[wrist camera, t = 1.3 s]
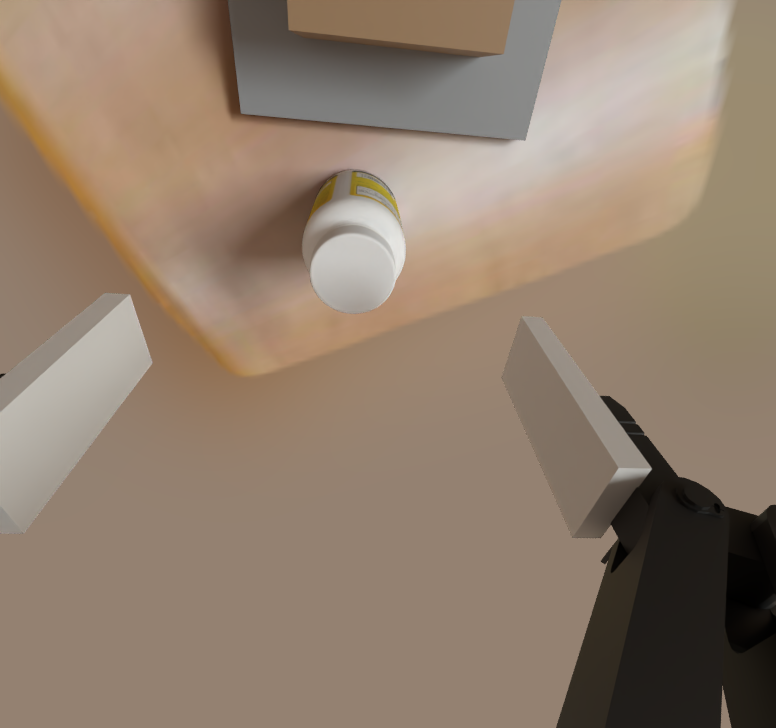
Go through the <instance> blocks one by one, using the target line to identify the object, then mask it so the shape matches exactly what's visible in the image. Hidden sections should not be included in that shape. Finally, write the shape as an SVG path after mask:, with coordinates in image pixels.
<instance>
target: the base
mask: <svg viewBox="0 0 776 728" xmlns="http://www.w3.org/2000/svg"><path fill="white" fill-rule="evenodd" d="M560 3H561V0H228V7H229V15H230V24H231V32H232V41H233V50H234V58H235V67H236V75H237V84H238V92H239V101H240V109H241V114H249V115H260V116H270V117H281V118H292V119H302V120H313V121H323V122H334V123H345V124H355V125H366V126H376V127H387V128H398V129H408V130H419V131H429V132H440V133H451V134H461V135H472V136H482V137H493V138H504V139H514V140H525V139H526V136H527V132H528V128H529V124H530V120H531V116H532V112H533V108H534V104H535V101H536V97H537V93H538V89H539V85H540V81H541V77H542V73H543V69H544V66H545V62H546V58H547V54H548V50H549V46H550V42H551V38H552V34H553V31H554V27H555V23H556V19H557V15H558V11H559V7H560Z"/></svg>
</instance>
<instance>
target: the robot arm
mask: <svg viewBox="0 0 776 728" xmlns="http://www.w3.org/2000/svg"><path fill="white" fill-rule="evenodd" d="M151 364H152V360H151V357H150V354H149V351H148V348H147V345H146V342H145V339H144V336H143V333H142V330H141V327H140V324H139V321H138V317H137V314H136V312H135V308H134V305H133V302H132V300H131V296H130V294H115V293H104V294H103V295H102V296H101V297H99V298H98V299H97V300H96V301H95V302H93V303H92V304H91V305H90V306H88V307H87V308H86V309H85V310H83V311H82V312H81V313H80V314H79V315H77V316H76V317H75V318H74V319H73V320H71V321H70V322H69V323H68V324H66V325H65V326H64V327H63V328H61V329H60V330H59V331H58V332H57V333H55V334H54V335H53V336H52V337H50V338H49V339H48V340H47V341H46V342H44V343H43V344H42V345H41V346H39V347H38V348H37V349H36V350H35V351H33V352H32V353H31V354H30V355H28V356H27V357H26V358H25V359H24V360H23V361H21V362H20V363H19V364H17V365H16V366H15V367H14V368H13V369H11V370H10V371H9V372H8V373H6V374H0V533H9V534H12V533H14V534H16V533H17V534H19V533H20V534H23V533H25V531H26V530H27V529H28V527H29V526H30V525H31V523H32V522H33V521H34V519H35V518H36V517H37V515H38V514H39V513H40V511H41V510H42V509H43V507H44V506H45V504H46V503H47V502H48V501H49V500H50V498H51V497H52V496H53V494H54V493H55V492H56V490H57V489H58V487H59V486H60V485H61V484H62V482H63V481H64V479H65V478H66V477H67V476H68V474H69V473H70V472H71V470H72V469H73V468H74V466H75V465H76V464H77V462H78V461H79V460H80V458H81V457H82V456H83V455H84V453H85V452H86V450H87V449H88V448H89V447H90V445H91V444H92V443H93V441H94V440H95V439H96V437H97V436H98V435H99V433H100V432H101V431H102V429H103V428H104V427H105V425H106V424H107V423H108V421H109V420H110V419H111V417H112V416H113V415H114V413H115V412H116V411H117V409H118V408H119V407H120V405H121V404H122V403H123V401H124V400H125V399H126V398H127V396H128V395H129V394H130V392H131V391H132V390H133V388H134V387H135V385H136V384H137V383H138V382H139V380H140V379H141V377H142V376H143V375H144V374H145V372H146V371H147V370H148V368H149V367H150V366H151ZM502 380H503V382H504V384H505V387H506V389H507V391H508V393H509V396H510V398H511V400H512V403H513V405H514V407H515V409H516V411H517V414H518V416H519V418H520V421H521V423H522V425H523V427H524V430H525V432H526V434H527V436H528V439H529V441H530V443H531V445H532V447H533V450H534V452H535V454H536V457H537V459H538V461H539V463H540V466H541V468H542V470H543V472H544V475H545V477H546V479H547V481H548V483H549V486H550V488H551V490H552V493H553V495H554V497H555V499H556V502H557V504H558V506H559V508H560V510H561V513H562V515H563V517H564V520H565V522H566V524H567V527H568V529H569V531H570V533H571V535H572V538H601V537H602V536H603V535H604V533H605V532H606V531H607V529H608V528H609V526H610V525H612V527H613V529H614V531H615V532H616V534H617V536H618V540H617V541H616V542H615V543H614V545H613V546H612V547H611V548H610V550H609V551H608V552H607V553H606V555H605V556H604V557H603V559H602V560H601V562H602V563H604V564H606V562H607V561H608V563H607V567H606V570H605V573H604V576H603V579H602V582H601V586H600V589H599V592H598V595H597V598H596V602H595V605H594V608H593V611H592V615H591V618H590V621H589V624H588V628H587V631H586V634H585V637H584V640H583V643H582V647H581V650H580V653H579V656H578V660H577V663H576V666H575V669H574V672H573V675H572V679H571V682H570V685H569V688H568V691H567V695H566V698H565V702H564V704H563V707H562V711H561V714H560V717H559V720H558V723H557V727H556V728H720V726H721V704H722V703H721V702H722V685H723V690H724V694H725V699H726V703H727V708H728V713H729V718H730V722H731V727H732V728H776V505H770V506H769V507H768V508H767V509H766V510H765V511H764V512H763V513H762V514H760V515H759V516H757V515H754V514H750V513H747V512H743V511H739V510H736V509H732V508H729V507H725V506H724V504H723V503H722V502H721V500H720V499H719V498H718V497H717V496H716V495H714V494H713V493H712V492H711V491H710V490H708V489H707V488H705V487H704V486H702V485H700V484H699V483H697V482H694V481H691V480H689V479H686V478H682V477H678V476H677V474H676V473H675V472H674V471H673V469H672V468H671V467H670V465H669V464H668V463H667V461H666V460H665V459H664V458H663V456H662V455H661V454H660V453H659V451H658V450H657V449H656V447H655V446H654V445H653V444H652V442H651V441H650V440H649V438H648V437H647V436H644V432H643V431H642V429H641V428H640V427H639V426H638V425H637V424H636V422H635V420H634V419H633V418H632V416H631V415H630V414H629V413H628V411H627V410H626V409H625V408H624V407H623V406H622V405H620V404H619V403H618V402H616V401H615V400H614V399H612V398H611V397H610V396H599V395H598V393H597V392H596V391H595V389H594V388H593V386H592V385H591V384H590V382H589V381H588V380H587V378H586V377H585V375H584V374H583V373H582V371H581V370H580V369H579V367H578V366H577V364H576V363H575V362H574V360H573V359H572V358H571V356H570V355H569V353H568V352H567V351H566V349H565V348H564V346H563V345H562V344H561V342H560V341H559V340H558V338H557V337H556V335H555V334H554V333H553V331H552V330H551V329H550V327H549V326H548V324H547V323H546V322H545V320H544V319H543V318H542V317H525V316H522V317H521V319H520V322H519V325H518V328H517V332H516V335H515V338H514V341H513V344H512V347H511V350H510V353H509V356H508V360H507V363H506V365H505V369H504V372H503V375H502Z"/></svg>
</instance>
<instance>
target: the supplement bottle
mask: <svg viewBox="0 0 776 728" xmlns="http://www.w3.org/2000/svg"><path fill="white" fill-rule="evenodd" d="M302 254H303V259H304V263H305V265H306V267H307V270H308V272H309V274H310V281H311V284H312V287H313V289H314V291H315V293H316V294H317V296H318V297H319V298H320V299H321V300H322V301H323V302H324V303H325V304H326V305H328V306H329V307H331V308H333V309H335V310H337V311H340V312H343V313H350V314H359V313H364V312H368V311H371V310H373V309H375V308H377V307H379V306H380V305H381V304H382V303H384V302H385V301H386V300H387V298H388V297H389V296H390V294H391V292H392V290H393V288H394V285H395V281H396V279H397V278H398V276H399V275H400V273H401V271H402V268H403V265H404V262H405V256H406V245H405V237H404V233H403V229H402V224H401V220H400V216H399V212H398V208H397V204H396V201H395V198H394V196H393V194H392V192H391V190H390V189H389V187H388V186H387V185H386V183H384V182H383V181H382V180H381V179H380V178H379V177H377V176H376V175H374V174H372V173H369V172H367V171H363V170H346V171H342V172H340V173H337V174H336V175H334V176H332V177H331V178H330V179H328V180H327V181H326V182H325V183H324V185H323V186H322V187H321V189H320V191H319V192H318V194H317V197H316V199H315V202H314V205H313V208H312V210H311V213H310V216H309V219H308V221H307V224H306V227H305V230H304V234H303V240H302Z"/></svg>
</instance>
